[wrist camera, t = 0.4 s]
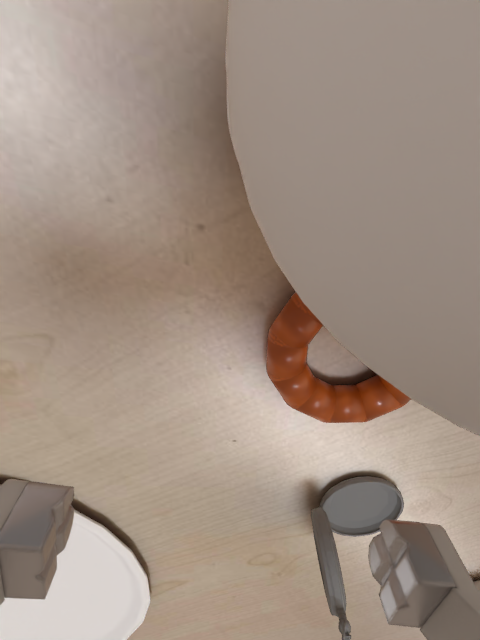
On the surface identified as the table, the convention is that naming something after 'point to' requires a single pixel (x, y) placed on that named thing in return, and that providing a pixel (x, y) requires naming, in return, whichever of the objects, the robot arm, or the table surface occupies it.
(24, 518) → the robot arm
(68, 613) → the plate
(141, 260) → the table surface
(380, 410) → the orange beaded ring
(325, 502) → the pocket watch
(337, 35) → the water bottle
